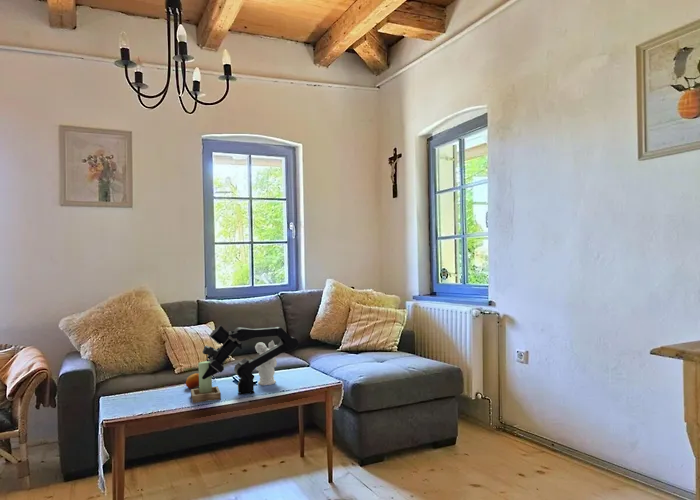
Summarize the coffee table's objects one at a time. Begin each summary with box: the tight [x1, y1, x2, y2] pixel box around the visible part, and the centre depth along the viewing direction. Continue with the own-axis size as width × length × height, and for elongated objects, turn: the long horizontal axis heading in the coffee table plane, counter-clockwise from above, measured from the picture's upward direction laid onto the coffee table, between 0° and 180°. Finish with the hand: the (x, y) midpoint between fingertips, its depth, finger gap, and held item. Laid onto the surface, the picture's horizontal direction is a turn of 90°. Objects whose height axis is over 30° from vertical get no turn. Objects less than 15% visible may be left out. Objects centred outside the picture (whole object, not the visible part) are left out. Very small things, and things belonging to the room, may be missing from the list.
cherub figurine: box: [254, 339, 278, 386], centre depth 257 cm, size 12×12×22 cm
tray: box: [190, 386, 222, 404], centre depth 233 cm, size 12×12×3 cm
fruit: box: [185, 372, 199, 390], centre depth 251 cm, size 8×8×8 cm
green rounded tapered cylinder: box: [197, 360, 213, 393], centre depth 233 cm, size 6×6×13 cm
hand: (202, 377), depth 232 cm, fingers closed on green rounded tapered cylinder, 5 cm apart
